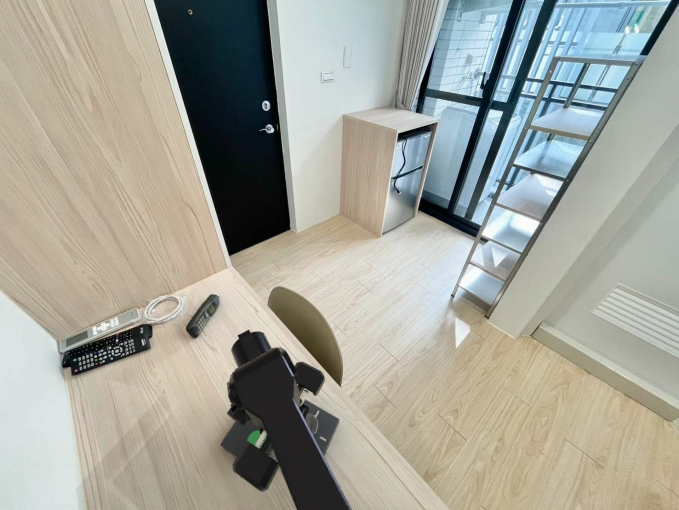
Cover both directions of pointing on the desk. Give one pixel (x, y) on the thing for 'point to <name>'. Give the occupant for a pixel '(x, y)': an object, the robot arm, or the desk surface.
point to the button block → (239, 437)
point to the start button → (254, 437)
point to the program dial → (312, 424)
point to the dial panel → (323, 426)
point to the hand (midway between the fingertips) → (290, 430)
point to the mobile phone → (202, 316)
